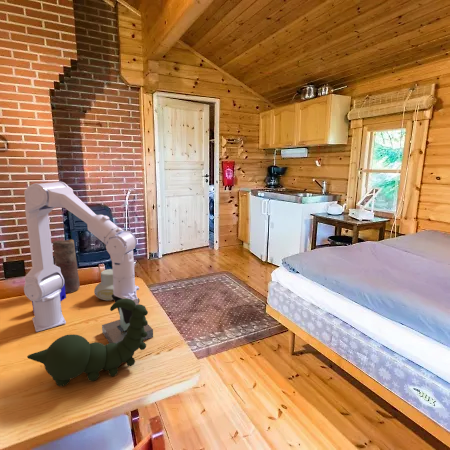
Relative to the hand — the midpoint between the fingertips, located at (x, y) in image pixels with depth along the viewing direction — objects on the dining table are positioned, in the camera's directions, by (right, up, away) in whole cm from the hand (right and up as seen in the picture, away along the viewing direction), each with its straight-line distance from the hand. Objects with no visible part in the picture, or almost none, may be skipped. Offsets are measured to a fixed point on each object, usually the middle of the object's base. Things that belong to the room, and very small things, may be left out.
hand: (126, 319), depth 86 cm
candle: (-33, +2, +31) cm, 45 cm away
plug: (0, -2, +1) cm, 2 cm away
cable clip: (-33, -1, +18) cm, 38 cm away
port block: (0, -5, +1) cm, 5 cm away
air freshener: (-14, 0, +25) cm, 29 cm away
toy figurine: (-3, -8, -15) cm, 17 cm away
